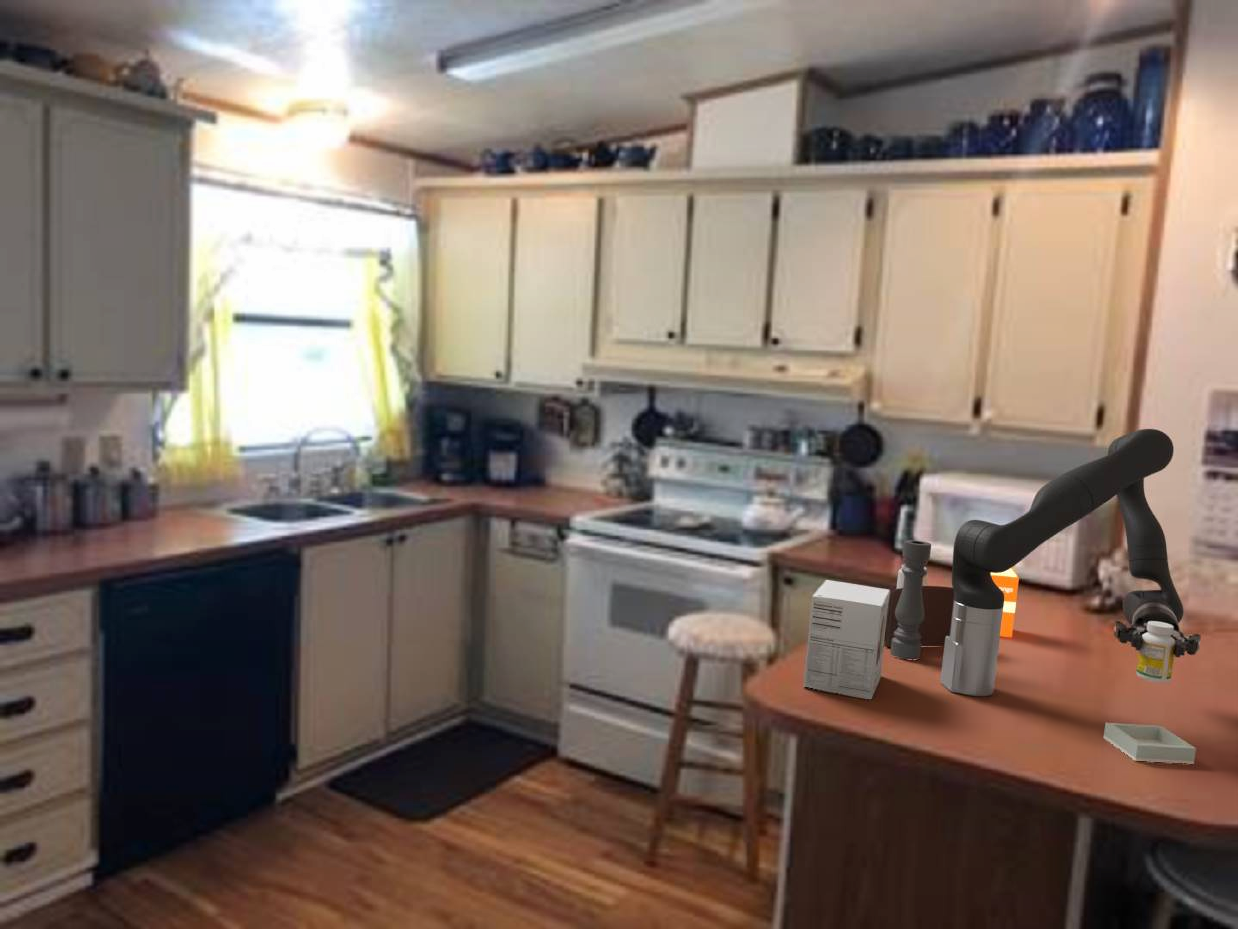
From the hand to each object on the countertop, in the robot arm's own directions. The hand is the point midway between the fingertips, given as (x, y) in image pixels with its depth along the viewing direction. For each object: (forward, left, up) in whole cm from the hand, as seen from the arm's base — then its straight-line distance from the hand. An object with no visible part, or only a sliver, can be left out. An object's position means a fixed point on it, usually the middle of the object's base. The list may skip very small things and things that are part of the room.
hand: (1158, 648), depth 170 cm
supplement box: (-45, +27, -18) cm, 56 cm away
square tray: (0, -1, -18) cm, 18 cm away
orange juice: (+4, +73, -18) cm, 75 cm away
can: (-12, +87, -18) cm, 90 cm away
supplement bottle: (+1, +2, -6) cm, 7 cm away
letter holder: (-20, +60, -18) cm, 65 cm away
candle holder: (-26, +47, -18) cm, 57 cm away
